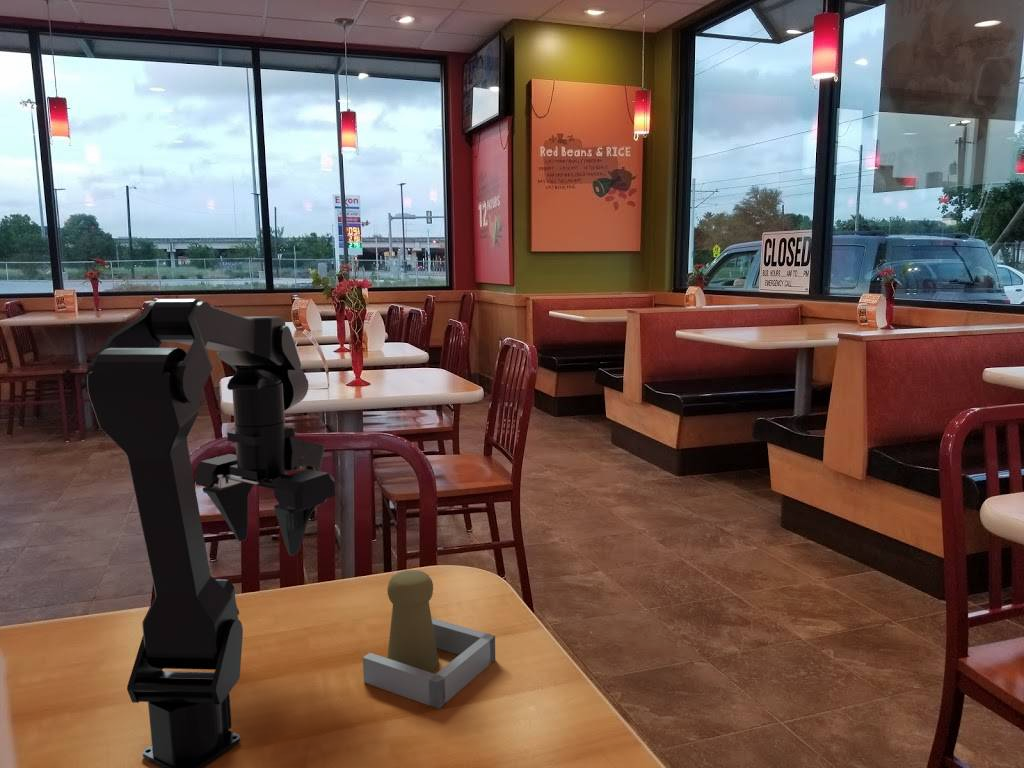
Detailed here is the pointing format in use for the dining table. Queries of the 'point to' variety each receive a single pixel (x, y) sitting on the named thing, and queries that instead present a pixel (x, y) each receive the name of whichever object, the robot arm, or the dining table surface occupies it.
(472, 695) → the dining table surface
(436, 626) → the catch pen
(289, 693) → the dining table surface
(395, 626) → the olive pawn
